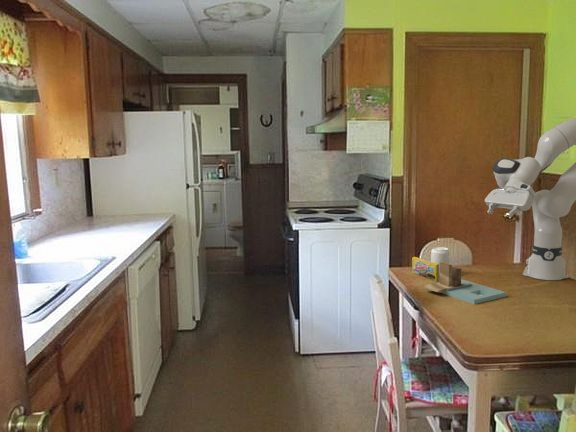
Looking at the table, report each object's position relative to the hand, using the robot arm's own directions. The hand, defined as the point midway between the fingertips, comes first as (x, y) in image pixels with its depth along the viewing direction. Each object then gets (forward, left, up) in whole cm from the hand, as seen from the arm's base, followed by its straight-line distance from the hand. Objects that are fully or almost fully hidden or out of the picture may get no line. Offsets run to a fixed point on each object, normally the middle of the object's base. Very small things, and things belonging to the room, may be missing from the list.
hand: (498, 214), depth 211 cm
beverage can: (-18, -24, -32) cm, 43 cm away
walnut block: (+9, -16, -31) cm, 36 cm away
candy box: (-9, -30, -32) cm, 44 cm away
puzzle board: (+13, -12, -31) cm, 36 cm away
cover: (+16, -23, -29) cm, 40 cm away
